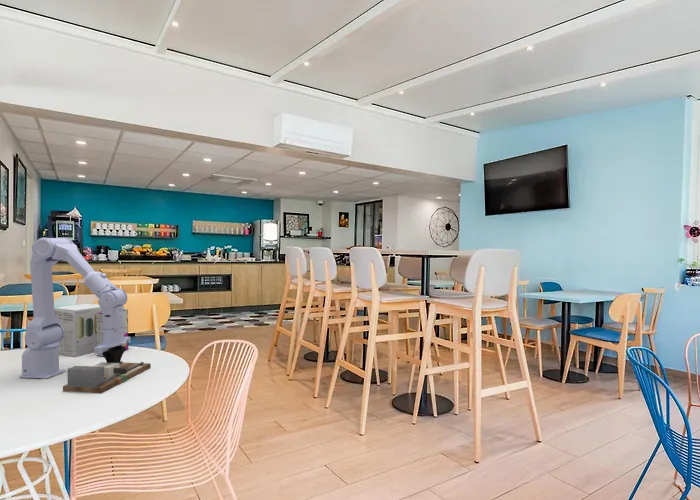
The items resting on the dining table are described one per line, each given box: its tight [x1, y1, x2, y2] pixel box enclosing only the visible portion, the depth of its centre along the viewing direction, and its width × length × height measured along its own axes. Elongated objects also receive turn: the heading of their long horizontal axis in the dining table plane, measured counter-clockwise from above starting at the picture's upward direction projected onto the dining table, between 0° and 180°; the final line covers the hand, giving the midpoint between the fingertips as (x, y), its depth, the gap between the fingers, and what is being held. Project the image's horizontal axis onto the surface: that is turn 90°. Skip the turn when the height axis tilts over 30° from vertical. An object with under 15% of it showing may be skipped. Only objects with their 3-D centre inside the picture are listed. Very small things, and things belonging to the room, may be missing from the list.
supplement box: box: [54, 302, 102, 358], centre depth 165 cm, size 13×13×18 cm
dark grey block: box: [66, 365, 104, 388], centre depth 122 cm, size 9×3×5 cm, turn 84°
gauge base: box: [62, 360, 152, 394], centre depth 133 cm, size 12×24×2 cm, turn 174°
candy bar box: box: [96, 307, 129, 358], centre depth 163 cm, size 11×5×16 cm, turn 168°
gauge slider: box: [91, 361, 127, 378], centre depth 129 cm, size 10×7×3 cm
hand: (113, 370), depth 134 cm, fingers closed
